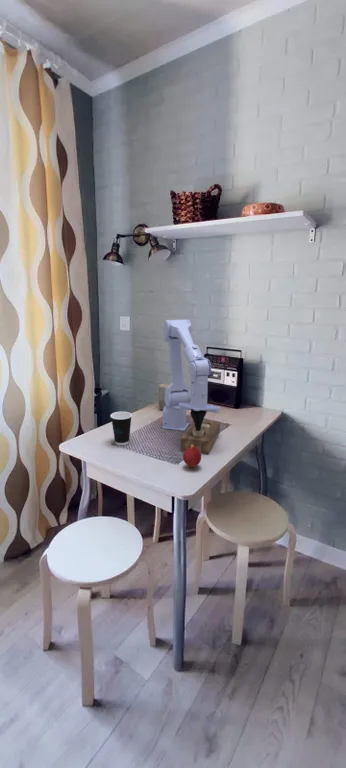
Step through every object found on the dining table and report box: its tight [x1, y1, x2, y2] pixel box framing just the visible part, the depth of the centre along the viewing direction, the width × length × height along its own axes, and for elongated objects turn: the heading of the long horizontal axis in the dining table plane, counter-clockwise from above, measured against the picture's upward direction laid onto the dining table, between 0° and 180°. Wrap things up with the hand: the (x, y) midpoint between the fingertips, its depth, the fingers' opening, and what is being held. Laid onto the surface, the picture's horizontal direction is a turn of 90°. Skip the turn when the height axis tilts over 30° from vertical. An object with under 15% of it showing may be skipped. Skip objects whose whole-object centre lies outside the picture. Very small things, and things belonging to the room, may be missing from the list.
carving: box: [157, 383, 170, 411], centre depth 181 cm, size 6×8×12 cm
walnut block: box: [180, 419, 221, 455], centre depth 146 cm, size 10×20×5 cm, turn 162°
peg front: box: [193, 428, 204, 437], centre depth 140 cm, size 4×4×4 cm
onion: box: [182, 445, 202, 469], centre depth 125 cm, size 6×6×8 cm
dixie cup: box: [109, 411, 133, 446], centre depth 144 cm, size 8×8×11 cm
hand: (198, 429), depth 140 cm, fingers closed, pressing on peg front
